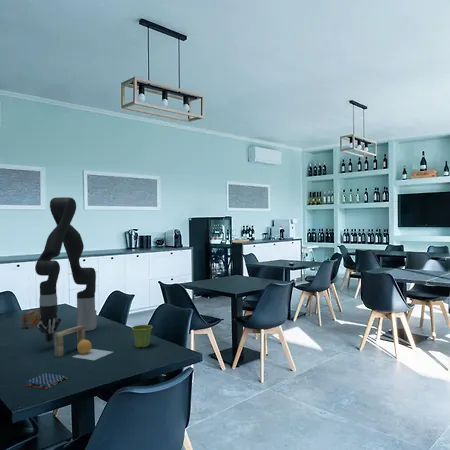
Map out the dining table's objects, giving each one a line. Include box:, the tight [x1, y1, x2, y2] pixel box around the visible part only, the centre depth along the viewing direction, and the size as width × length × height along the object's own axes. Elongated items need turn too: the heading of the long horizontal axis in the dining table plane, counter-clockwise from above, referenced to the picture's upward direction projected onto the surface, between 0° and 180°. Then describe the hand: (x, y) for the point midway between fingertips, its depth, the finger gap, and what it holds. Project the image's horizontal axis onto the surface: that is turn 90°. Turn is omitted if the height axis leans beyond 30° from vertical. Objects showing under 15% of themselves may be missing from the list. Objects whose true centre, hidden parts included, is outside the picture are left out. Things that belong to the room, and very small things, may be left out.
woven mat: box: [24, 372, 68, 390], centre depth 149 cm, size 10×11×2 cm
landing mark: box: [72, 348, 114, 362], centre depth 180 cm, size 12×12×1 cm
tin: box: [21, 309, 41, 329], centre depth 235 cm, size 15×3×8 cm, turn 168°
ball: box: [76, 339, 93, 354], centre depth 182 cm, size 6×6×6 cm
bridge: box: [53, 325, 86, 357], centre depth 186 cm, size 3×15×10 cm, turn 155°
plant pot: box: [131, 324, 153, 348], centre depth 192 cm, size 9×9×9 cm
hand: (49, 341), depth 191 cm, fingers closed
